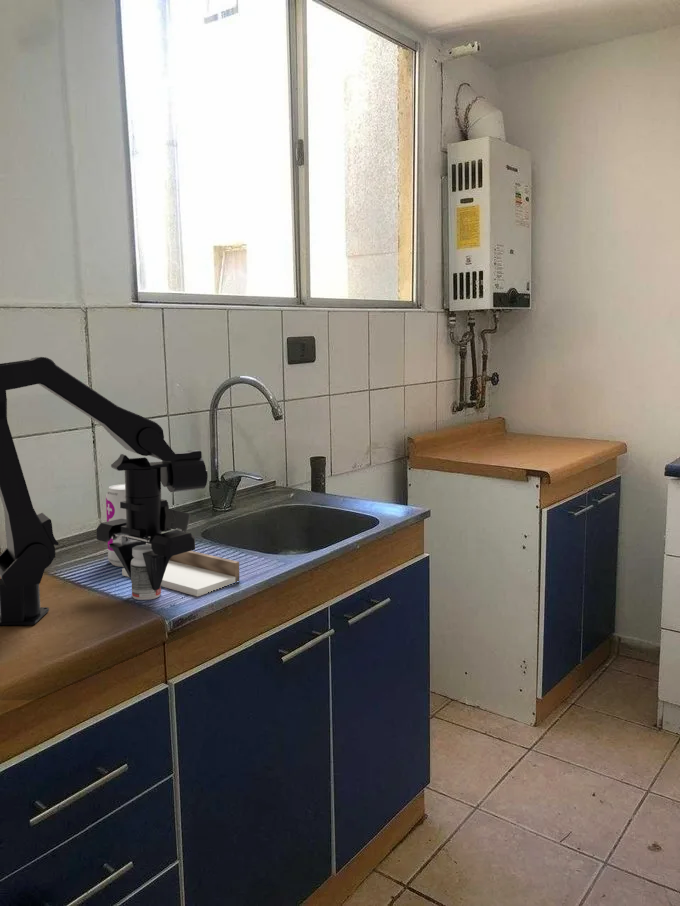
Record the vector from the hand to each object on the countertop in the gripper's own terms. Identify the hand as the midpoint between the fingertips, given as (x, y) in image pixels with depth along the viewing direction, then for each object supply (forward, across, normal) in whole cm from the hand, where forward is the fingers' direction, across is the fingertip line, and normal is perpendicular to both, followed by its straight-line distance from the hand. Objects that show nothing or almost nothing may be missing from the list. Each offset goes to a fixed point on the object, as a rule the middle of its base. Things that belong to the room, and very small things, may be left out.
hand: (146, 586), depth 122 cm
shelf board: (+2, +3, -10) cm, 11 cm away
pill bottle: (+2, 0, 0) cm, 2 cm away
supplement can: (+2, +19, -11) cm, 22 cm away
